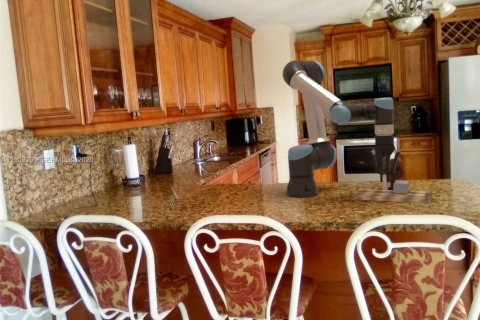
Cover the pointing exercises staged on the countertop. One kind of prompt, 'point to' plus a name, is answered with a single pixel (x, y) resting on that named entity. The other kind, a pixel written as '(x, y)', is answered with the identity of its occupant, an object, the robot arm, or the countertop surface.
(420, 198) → the rail
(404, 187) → the rider
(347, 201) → the countertop surface
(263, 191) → the countertop surface
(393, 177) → the ice cream bowl
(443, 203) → the countertop surface
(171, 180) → the countertop surface
